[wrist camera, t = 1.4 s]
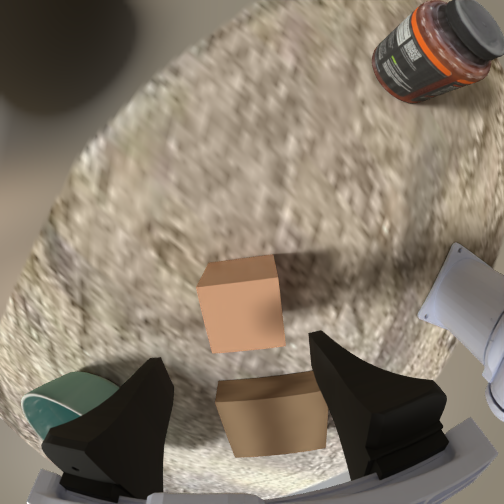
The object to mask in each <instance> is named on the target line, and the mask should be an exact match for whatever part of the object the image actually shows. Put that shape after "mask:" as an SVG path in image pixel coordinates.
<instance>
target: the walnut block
mask: <svg viewBox="0 0 504 504" xmlns="http://www.w3.org/2000/svg"><path fill="white" fill-rule="evenodd" d="M215 404H216V407H217V410H218V413H219V416H220V418H221V421H222V424H223V427H224V429H225V432H226V435H227V438H228V440H229V443H230V445H231V448H232V451H233V453H234V456H235V458H237V457H258V456H271V455H281V454H290V453H297V452H304V451H311V450H317V449H322V448H326V436H327V421H328V406H327V404H326V402H325V400H324V398H323V395H322V393H321V391H320V389H319V387H318V384H317V382H316V379H315V376H314V373H313V371H308V372H301V373H295V374H287V375H280V376H271V377H262V378H252V379H241V380H227V381H218V387H217V393H216V399H215Z"/></svg>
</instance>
